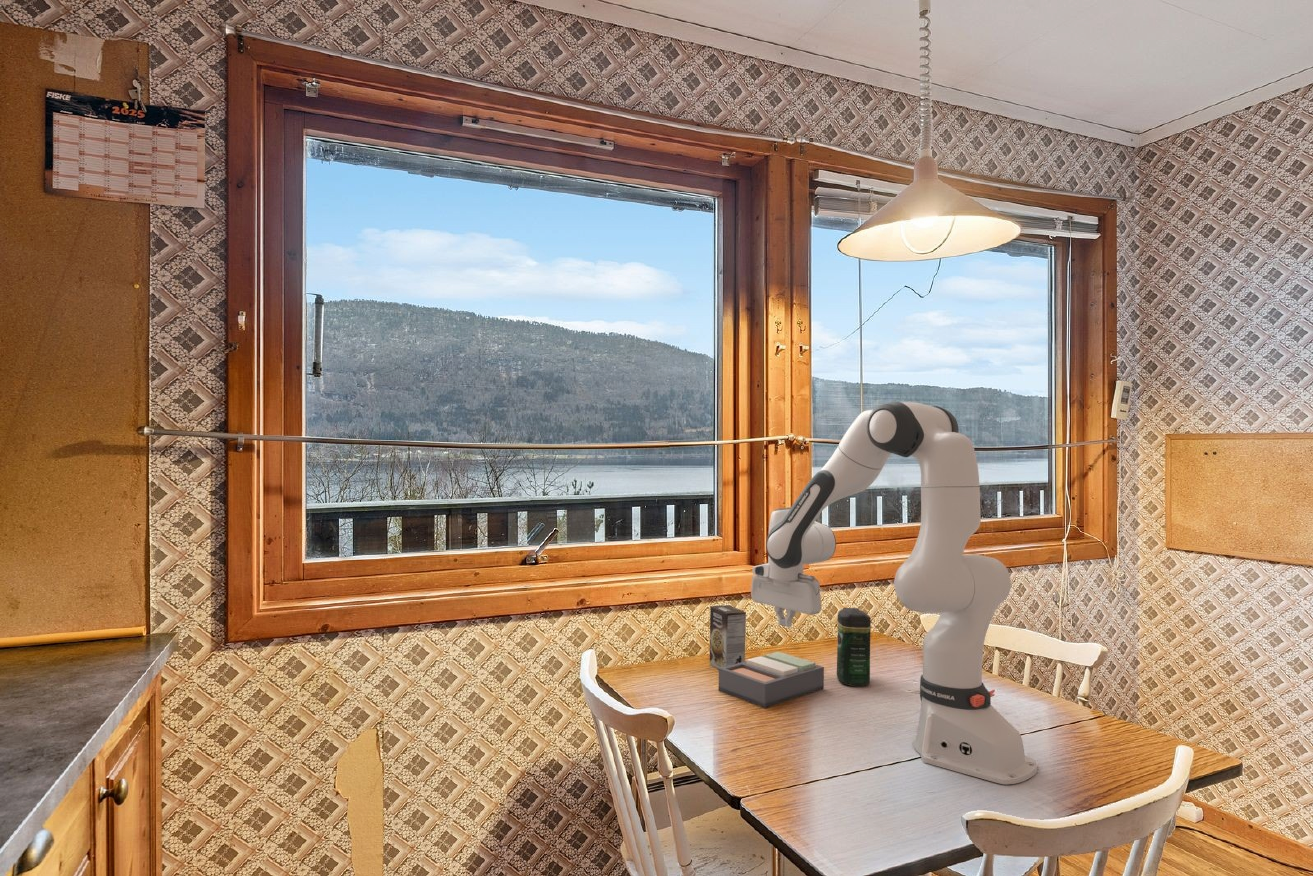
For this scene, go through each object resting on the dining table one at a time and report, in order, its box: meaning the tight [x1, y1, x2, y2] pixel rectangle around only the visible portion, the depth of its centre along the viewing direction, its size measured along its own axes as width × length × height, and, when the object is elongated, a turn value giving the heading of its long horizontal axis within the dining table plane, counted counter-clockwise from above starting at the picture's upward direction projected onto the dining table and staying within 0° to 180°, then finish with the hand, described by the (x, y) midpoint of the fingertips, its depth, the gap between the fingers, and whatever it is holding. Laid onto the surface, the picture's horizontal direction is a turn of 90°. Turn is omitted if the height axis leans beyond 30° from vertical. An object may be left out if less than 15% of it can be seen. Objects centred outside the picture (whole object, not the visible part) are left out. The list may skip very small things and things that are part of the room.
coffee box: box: [709, 604, 747, 670], centre depth 199 cm, size 9×6×16 cm
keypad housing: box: [718, 655, 825, 709], centre depth 181 cm, size 15×22×6 cm
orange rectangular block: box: [731, 668, 775, 682], centre depth 177 cm, size 12×5×3 cm, turn 40°
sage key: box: [764, 651, 816, 671], centre depth 186 cm, size 12×5×3 cm, turn 40°
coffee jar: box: [836, 607, 872, 687], centre depth 189 cm, size 10×8×19 cm
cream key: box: [746, 655, 798, 676], centre depth 181 cm, size 12×5×3 cm, turn 40°
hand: (784, 625), depth 185 cm, fingers closed
